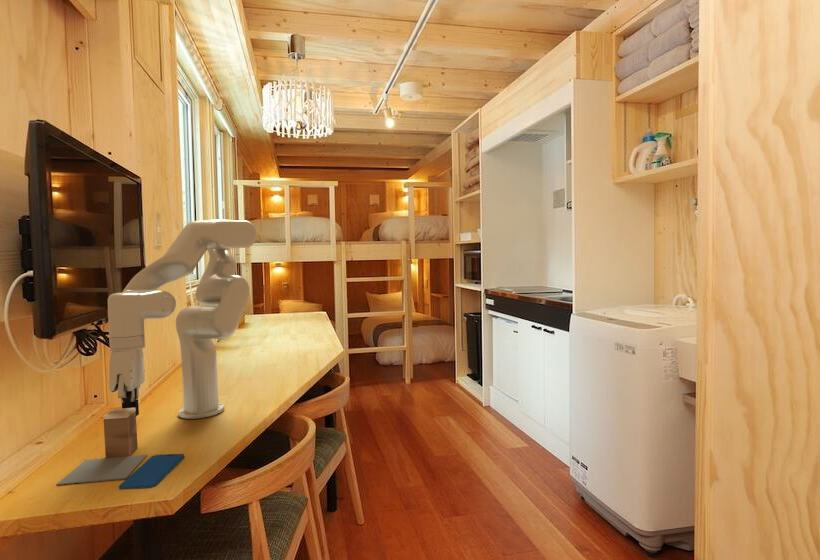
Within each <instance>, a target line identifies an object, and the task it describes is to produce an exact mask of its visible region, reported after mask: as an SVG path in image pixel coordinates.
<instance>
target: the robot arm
mask: <svg viewBox="0 0 820 560" xmlns="http://www.w3.org/2000/svg"><path fill="white" fill-rule="evenodd" d="M257 234H258V232H257V230H256V227H255V226H254V224H253V223H252V222H250V221H248V220H241V219H240V220H238V219H237V220H232V219H231V220H230V219H206V220H205V219H204V220H200V219H199V220H194V221H190V222H188V223H186V225H185V226H184V227H183V228H182V230H181V231H180V232H179V234H178V235H177V237H176V238H175V239H174V241H173V242H172V243H171V245H170V247H168V249H167V251H166V253H164V254H163V256H161V257H159V258H158V259H156V260H155V261H153V262H152V263H150V264H149V265H147V266H145V267H144V268H143V269H141V270H140V271H139V272H138V273H136V274H135V275H133V277H132V278H131V279H130V280H129V282H128V283H127V285H126V286H125V288H124V289H123V290H122V292H115V293H112V294H111V293H110V295H109V296H108V298H107V317H108V318H107V319H108V337H109V338H108V339H109V340H108V341H109V352H110V357H109V367H108V369H109V370H108V371H109V372H108V374H109V375H108V376H109V377H108V380H109V381H108V383H109V384H108V386H109V388H108V389H109V391H110V393H115V392H117V398H118V399H120V402H121V408H136V417H137V416H139V414H140V410H139V406H140V404H139V397H140V395H139V393H140V390H139V389H140V388H141V385H142V384H144V383H145V381H146V372H145V371H146V368H145V356H144V350H143V349H145V348H146V338H145V337H146V336H145V320H152V319H153V320H160V319H161V320H162V319H166V318H167V317H170V316H171V315H172V314H173V313H174V311H175V309H176V306H177V302H176V298H175V296H174V295H173V294H172V293H171V292H169V291H167V290H162V289H160V288H162V287H163V286H165V285H167V284H169V283H171V282H175V281H178V280H180V279H183V278H184V277H186V276H189V275H191V274H192V273H193V272H194V270H196V267H197V266H198V264H199V263H200V261H201V259H202V258H203V256H204V255H205V254H206V252H208V256H209V257H208V263H207V266H206V268H205V270H204V272H203V274H202V276H201V278H200V280H199V283H198V285H197V287H196V291H195V295H194V296H195V299H196V301H197V302H198V303H199V304H200V305H190V306H186V307H184V308H182V309H181V310H180V311H179V312H178V313H177V316H176V318H175V329H176V332H177V333H176V334H177V335H178V336H177V337H178V340H179V344H180V346H179V347H180V354H181V355H180V358H181V378H182V379H181V381H182V400H183V402H182V403H183V405H182V406H183V407H181V408H180V409H178V411H177V416H178V417H179V418H182V419H187V420H188V419H189V420H194V419H203V418H208V417H213V416H216V415H218V413H219V414H221V413H222V412H223V411H225V405H224V403H222V402H219V382H218V379H219V378H218V358H217V354H218V353H217V350H216V349H217V348H216V346H215V344H214V342H213V340H224V339H225V340H226V339H229V338H230V337H232V336H233V334H234V333H235V332H236V330H237V328H238V326H239V323H240V322H241V319H242V316H243V314H244V313H245V312H244V311H245V309H246V306H247V304H248V301H249V299H250V286H249V283H248V281H247V279H245V278H244V277H243V276H241V275H237V274H236V271H237V270H238V269H237V267H238V266H237V262H236V259H235V257H234V256H233V254H232V252H231V249H245V248H250V247H252V246H253V245H254V243H255V242H256V239H257V237H258V235H257Z"/></svg>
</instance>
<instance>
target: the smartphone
mask: <svg viewBox="0 0 820 560" xmlns="http://www.w3.org/2000/svg"><path fill="white" fill-rule="evenodd" d="M184 459H185V454H184V453H174V454H173V453H171V454H170V453H169V454H155V455H152V456H150V457H149V458H148V459H147V460H146V461H145V462H144V463H142V465H140V467H137V468H136V469H135V470H134V471H133V472H132V473H131V474H130V475H129V476H128V478H127V479H124V481H123V482H122V483H120V484H119V486H118V488H119V489H120V490H131V489H133V490H134V489H152V488H154V487H157V486H158V485H159V484H160V483H161V482H162V481H163V479H165V478H166V477H167V476H168V475H169V474H170V473H171V472H172V471H173V470H174V469H175V468H176V467H177V466H178V465H179V464H180V463H181V462H182V461H183V460H184Z"/></svg>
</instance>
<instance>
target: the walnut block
mask: <svg viewBox="0 0 820 560" xmlns="http://www.w3.org/2000/svg"><path fill="white" fill-rule="evenodd" d="M102 418H103V431H104V432H103V435H104V451H105V454H104V455H105V458H113V457H125V456H133V453H134V452H136V451H137V450H138V446H139V445H138V429H137V416H136V408H122V407H121V408H112V409H111V410H109V411H108V412H107V413H105V414H104V415H103V417H102Z"/></svg>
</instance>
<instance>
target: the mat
mask: <svg viewBox="0 0 820 560" xmlns="http://www.w3.org/2000/svg"><path fill="white" fill-rule="evenodd" d="M146 457H148V454H139V455H137V454H136V455H131V456H125V457H113V458H106V457H104V458H102V457H101V458H92V459H84V460H83V461H82V462H80V464H78V466H76V467H75V468H74V469H73V470H71V471H70V472H69V473H68V474H66V475H65V476H64V477H63V478H62V479H61V480H59V481H58V482H57V483H56V485H57V486H65V485H64V484H68V485H75V484H74V483H79V484H88V483H87V482H90V483H98V482H99V483H100V482H109V481H121V480H126V479H127V478H128V477H129V476H131V475H132V474H133V473H134V472H135V471H136V470H137V469H138V468H139V467H138V466H140V464H141V463H142V462H143V461H144V460H145V459H146Z"/></svg>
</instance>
